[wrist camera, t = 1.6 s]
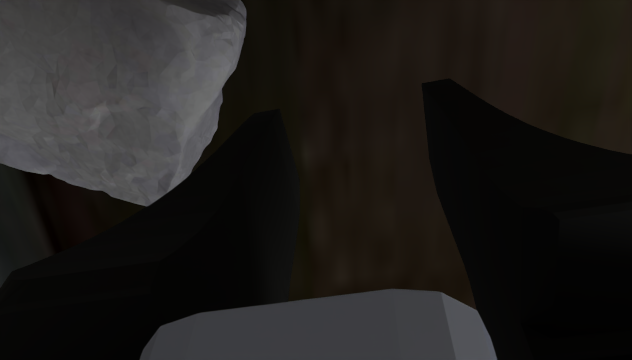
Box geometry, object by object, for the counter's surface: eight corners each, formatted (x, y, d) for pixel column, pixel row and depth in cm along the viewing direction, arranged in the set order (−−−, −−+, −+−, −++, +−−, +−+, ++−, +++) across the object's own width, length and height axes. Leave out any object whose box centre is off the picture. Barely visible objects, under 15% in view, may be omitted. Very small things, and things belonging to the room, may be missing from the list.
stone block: (207, 163, 25) (270, -19, 18) (175, 240, 22) (236, 53, 15) (-46, 68, 23) (-83, -177, 16) (-125, 136, 20) (-214, -135, 13)
